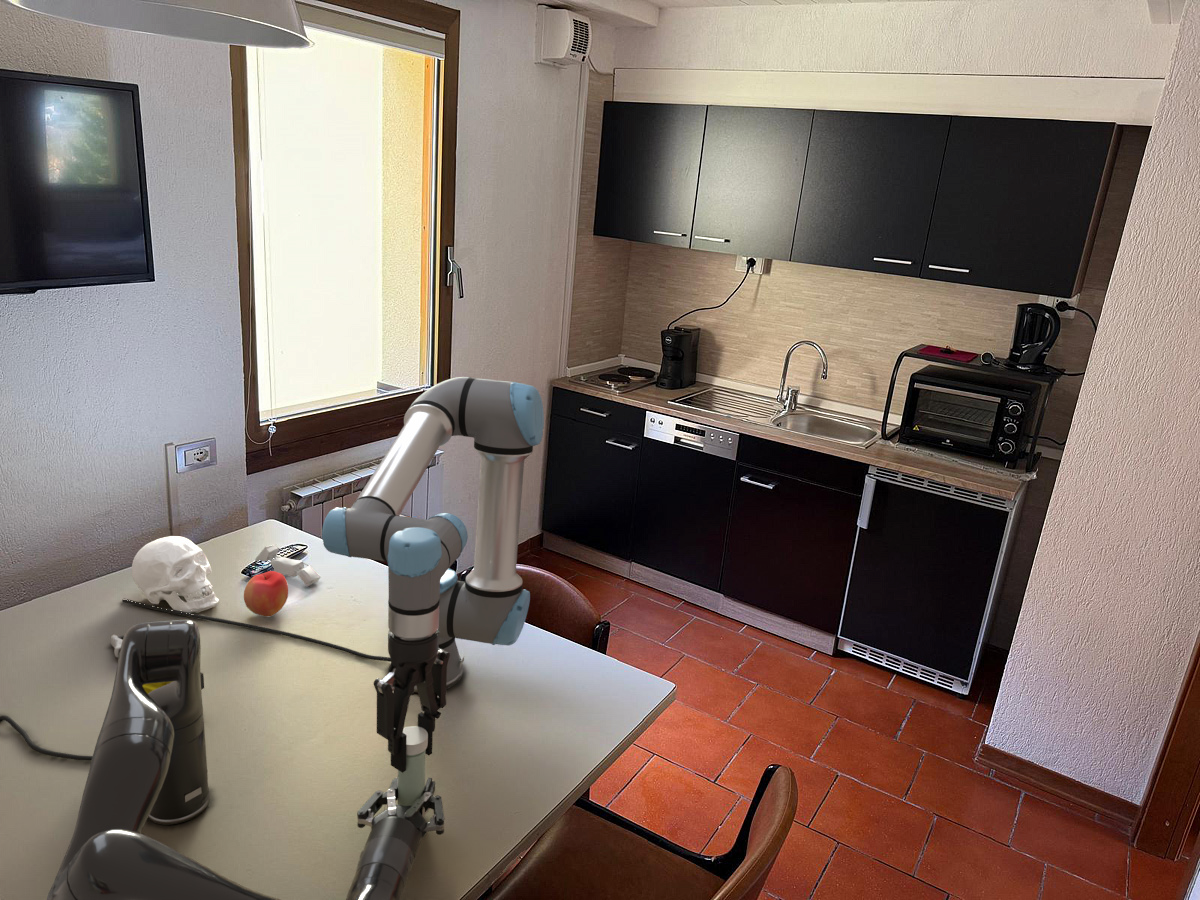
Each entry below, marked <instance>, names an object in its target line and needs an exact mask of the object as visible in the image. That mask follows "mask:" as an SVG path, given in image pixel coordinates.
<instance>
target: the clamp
mask: <svg viewBox="0 0 1200 900" xmlns="http://www.w3.org/2000/svg"><path fill="white" fill-rule="evenodd" d="M280 549H281V547H279V546H278V545H277V544H272V545H266V546H264V547H263V549H262V550H261V551H260V552H259V554H258V555H257V556H256V557H255V559H254V562H255V563H256V561H259V560H262V561H268V560H271V562H270V563H269V564H271V565H272V566H273V568H274V571H275V572H278V573H281V574H282V575H283V576H288V577H292V578H296V577H298V578H299V579H300V580H301V582H303V584H304V585H305V587H309V586H312V585H314V584H316V583H318V582H319V580H320V579H321V578H322V577H321V575H320V574H319V573H318V572H317V570H315V569H314V568H313V566H312V565H310V564H309V565H308V564H307V563H305V562H304V561H303V560H301V559H300V560H299V559H292V558H289V557H285V556H278V553H279V551H280ZM273 558H274V559H273ZM272 559H273V560H272ZM305 566H306V567H305ZM270 571H271V570H270Z"/></svg>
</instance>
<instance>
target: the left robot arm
mask: <svg viewBox="0 0 1200 900" xmlns="http://www.w3.org/2000/svg"><path fill="white" fill-rule="evenodd" d="M200 634H201V633H200V630H199V626H198V625H197V623H196V622H195V621H194V620H192V619H177V620H175V619H174V620H162V621H160V620H159V621H149V622H141V623H140V622H139V623H137V624H134V625H132V626H130V627H129V628H128V629H127V630H126V632H125V634H124V635H123V636H124V638H123V640H122V644H121V648H120V653H119V658H117V664H116V670H115V675H114V680H113V681H114V682H113V686H112V691H111V696H110V700H109V703H108V705H107V710H106V712H105V715H104V719H103V722H102V725H101V728H100V731H99V733H98V736H97V740H96V744H95V746H94V750H93V753H92V755H80V754H78V755H77V754H73V753H66V752H59V751H53V750H49V749H46V748H43V747H41V746H39V745H37V744H36V743H34V741H32V739H31V738H30V737H29V735H28V733H27V732H26V731H25V729H23V728H22V727H21V726H20V725H19V724H18V723H17V722H15V720H14V719H12V718H11V717H10V716H8V715H4V714H3V715H0V722H1V721H3V720H4V722H5V721H6V722H7V723H8V724H9V725H10V726H11V727H12V728H13V729H14V730H15V731H16V732H17V733H18V734H20V736H21V737H22V739H23V740H24V741H25V743H26V744H27V746H28V747H29V748H31V749H32V750H33V751H34V752H37V753H40V754H43V755H46V756H51V757H55V758H62V759H68V760H75V761H90V765H89V770H88V775H87V778H86V782H85V786H84V789H83V792H82V796H81V802H80V806H79V810H78V815H77V819H76V825H75V828H74V832H73V835H72V837H71V840H70V842H69V845H68V848H67V850H66V852H65V854H64V857H63V859H62V862H61V864H60V867H59V869H58V871H57V874H56V876H55V878H54V880H53V882H52V885H51V887H50V889H49V891H48V894H47V897H46V900H281V899H280V898H277V897H274V896H270V895H267V894H264V893H261V892H259V891H256V890H253V889H251V888H248V887H246V886H243V885H242V884H239V883H237V882H235V881H234V880H232V879H229V878H228V877H226V876H224V875H222V874H220V873H219V872H217V871H215V870H213V869H211V868H209V867H208V866H206V865H204V864H202V863H201V862H198V861H196V860H195V859H193V858H190V857H189V856H187V855H185V854H184V853H182V852H180V851H178V850H176V849H175V848H172V847H170V846H168V845H167V844H165V843H163V842H161V841H159V840H158V839H155V838H153V837H150V836H148V835H147V834H144V833H142V831H143V828H144V826H145V824H146V823H147V820H149V821H151V822H152V823H154V824H158V825H163V826H172V825H178V824H182V823H185V822H187V821H190V820H193V819H194V818H196V817H197V816H199V815H201V813H203V812H204V811H205V810H206V809H207V808H208V805H209V803H210V800H211V799H210V798H211V796H210V787H209V777H208V763H207V748H206V746H207V745H206V733H205V722H204V721H205V720H204V719H205V718H204V706H203V693H202V690H201V673H202V672H201V649H202V648H201V647H202V645H201V635H200ZM171 681H172V682H171ZM161 682H170V683H168V684H166V685H164V686H161V687H159V688H157V689H155V690H153V691H151V692H150V693H147V692H146V691H145V689H144V688H143V686H142V685H144V684H150V683H161ZM389 785H390V786H389V787H388V789H387V790H386V791H382V790H375V792H374V793H373V794H372V795H371V796H370V797H369V798H368V799H367V800H366V802H365V803H364V804H363V805H362V806H361V807H360V808H359V809H358V810H357V812H356V814H357V815H356V818H357V819H356V820H357V821H356V823H357V824H356V825H357V828H359V829H363V828H365V827H367V826H368V827H370V832H369V834H368V837H367V840H366V842H365V844H364V847H363V849H362V850H361V853H360V855H359V860H358V862H357V866H356V871H355V874H354V877H353V880H352V882H351V885H350V887H349V889H348V892H347V895H346V898H345V900H400V899H401V897H402V893H403V890H404V888H405V886H406V884H407V883H408V880H409V878H410V875H411V871H412V868H413V865H414V862H415V859H416V856H417V852H418V849H419V847H420V844H421V840H422V838H423V837H424V836H425V835H426V834H427V833H429V832H435V833H436V834H437V836H438V835H439V836H440V835H443V834H444V833H445V813H444V806H443V799H442V796H441V795H439V794H438V795H435V793H436V781H435V780H433V777H427V779H426V781H425V788H424V790H423V795H422V796H421V798H420V799H417V800H416V801H415V802H414V804H413V805H412V806H403V805H398V803H396V801H397V802H398V776H397V777H394V778H393V779H392V781H391V783H390V784H389ZM385 805H386V809H385V810H383V811H381V812H380V813H379V814H377V813H378V812H379V811H380V809H382V807H383V806H385ZM430 810H432V811H433V814H432V817H430V819H429V821H428V822H427V820H426V819H425V817H426V814H427V813H428V812H429V811H430ZM376 814H377V815H376Z"/></svg>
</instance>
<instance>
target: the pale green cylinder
mask: <svg viewBox="0 0 1200 900" xmlns="http://www.w3.org/2000/svg"><path fill="white" fill-rule="evenodd" d="M425 753H426V750H425V751H423V752H422V753H420V754H416V755H406V771H404V772H403V773H402V772H400V771H399V770H397V777H398V799H397V805H403V806H412V805H413V804H414V802H415V801H416V800H417V799H420V798H421V796H422V795H423V790H424V788H425V785H426V754H425Z"/></svg>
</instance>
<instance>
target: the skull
mask: <svg viewBox="0 0 1200 900" xmlns="http://www.w3.org/2000/svg"><path fill="white" fill-rule="evenodd" d="M131 574H132V579H133V581H134V583H135V585H136V586H137V588H138V589H139V590H140V591H141V593H142V594H143V596H144V597H145V598H146V599H147V601H149V602H150V603H151V605H159V603H160V601H166V603H168V605H169V607H171V609H172V610H177V611H180V610H182V612H187V613H192V614H194V613H199V612H202V611H206V610H209V609H211V608H214V607H216V606H218V604H219V603H220V601H219V600H220V599H219V598H218V597H217V596H216V593H215V591H214V590H213V588H214V586H213V585H212V583H211V582H210V581H209V579H208V578H207V577H208V575H210V574H212V567H211V564H210V562H209V560H208V558H207V555H206V554H205V552H204V551H203V549H201V548H200V547H199V546H198V545H196V544H195V543H194V542H193V541H192V540H191V539H189V538H187V537H184V536H181V535H180V536H178V535H169V536H164V537H160V538H157V539H154V540H152V541H150V542H148V543H146V544H144V545H143V546H142V547H141V548H140V549H139V550H138V551H137V553H136V554H135V556H134V557H133V560H132V564H131ZM177 593H178V594H177ZM179 596H181V597H184V600H185V601H184V600H182V599H181V598H180V597H179ZM191 610H192V611H191Z"/></svg>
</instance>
